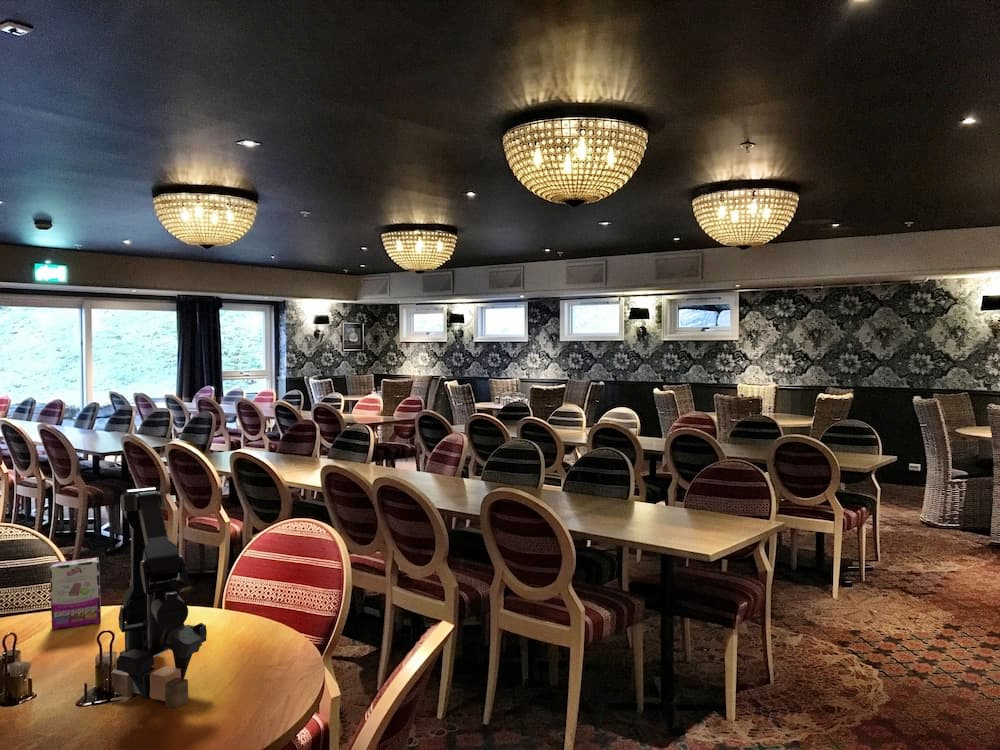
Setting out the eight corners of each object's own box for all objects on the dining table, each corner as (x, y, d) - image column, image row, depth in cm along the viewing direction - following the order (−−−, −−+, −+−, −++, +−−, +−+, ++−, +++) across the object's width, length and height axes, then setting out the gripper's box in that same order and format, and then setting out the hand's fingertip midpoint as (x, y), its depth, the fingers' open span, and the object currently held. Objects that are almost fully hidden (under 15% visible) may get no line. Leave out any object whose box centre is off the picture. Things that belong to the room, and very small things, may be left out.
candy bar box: (100, 617, 205) (99, 556, 204) (101, 623, 200) (99, 561, 200) (52, 624, 200) (50, 561, 199) (51, 631, 195) (49, 566, 194)
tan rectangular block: (150, 697, 156) (150, 673, 156) (166, 689, 160) (165, 665, 160) (166, 701, 155) (165, 676, 155) (181, 692, 159) (180, 668, 158)
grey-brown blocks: (102, 691, 161) (101, 670, 161) (114, 685, 164) (113, 664, 164) (177, 707, 154) (176, 685, 154) (188, 701, 156) (187, 679, 156)
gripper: (157, 635, 145) (159, 716, 146) (226, 604, 163) (227, 677, 163) (113, 627, 149) (114, 706, 150) (185, 597, 167) (186, 669, 167)
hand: (164, 689), depth 158 cm, fingers open, 9 cm apart
